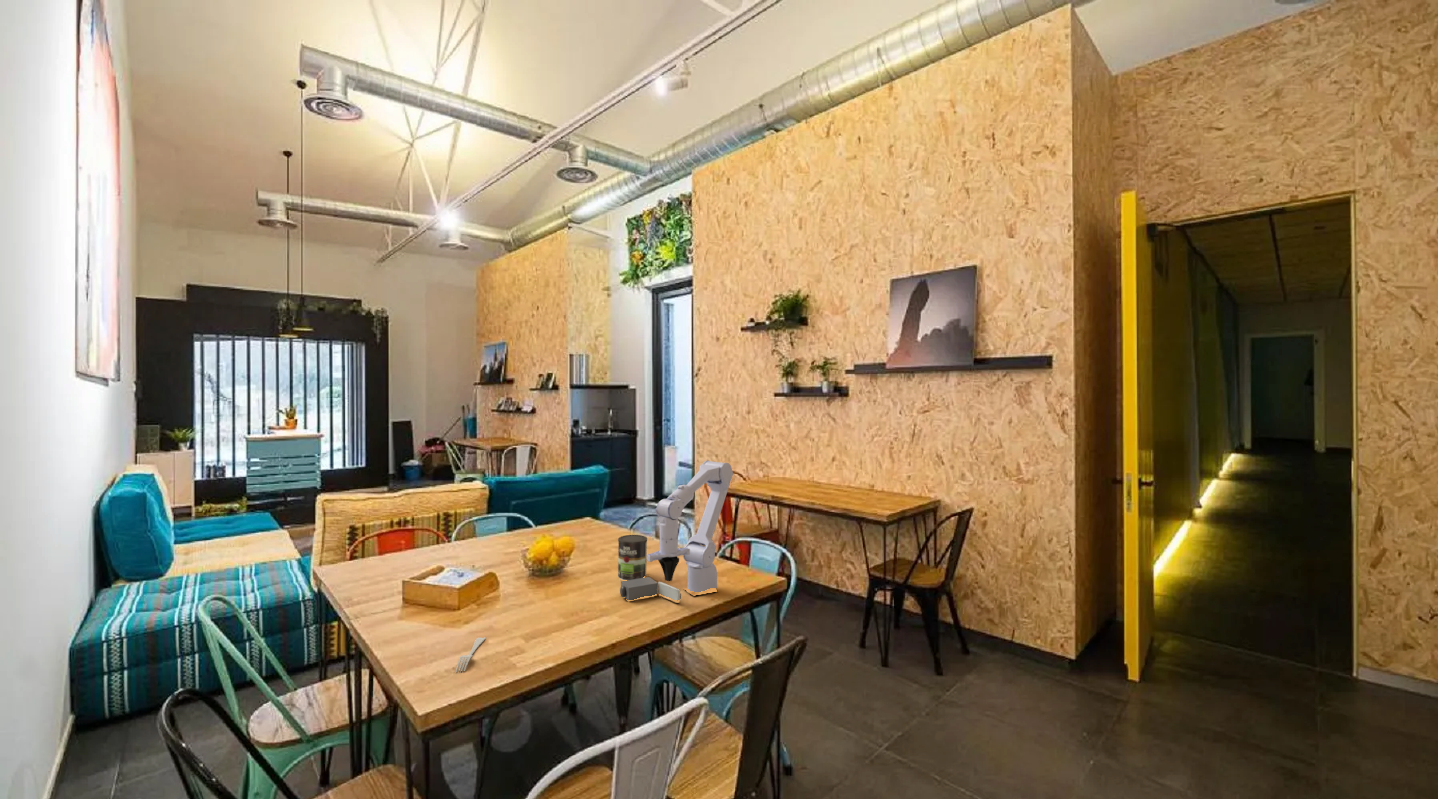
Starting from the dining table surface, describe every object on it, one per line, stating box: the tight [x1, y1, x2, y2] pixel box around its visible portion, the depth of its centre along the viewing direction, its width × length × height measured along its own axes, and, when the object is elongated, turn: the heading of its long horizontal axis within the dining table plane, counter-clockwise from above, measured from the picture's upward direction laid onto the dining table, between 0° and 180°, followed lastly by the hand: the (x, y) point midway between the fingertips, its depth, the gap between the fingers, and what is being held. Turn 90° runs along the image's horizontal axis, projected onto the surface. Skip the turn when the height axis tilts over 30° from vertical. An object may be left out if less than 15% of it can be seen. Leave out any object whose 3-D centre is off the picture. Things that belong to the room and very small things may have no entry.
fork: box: [455, 636, 487, 673], centre depth 151 cm, size 3×21×3 cm, turn 7°
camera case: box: [619, 576, 658, 601], centre depth 193 cm, size 11×7×4 cm, turn 120°
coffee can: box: [617, 534, 648, 581], centre depth 212 cm, size 10×10×14 cm
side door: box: [657, 581, 682, 601], centre depth 190 cm, size 10×2×4 cm, turn 43°
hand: (668, 580), depth 187 cm, fingers closed
